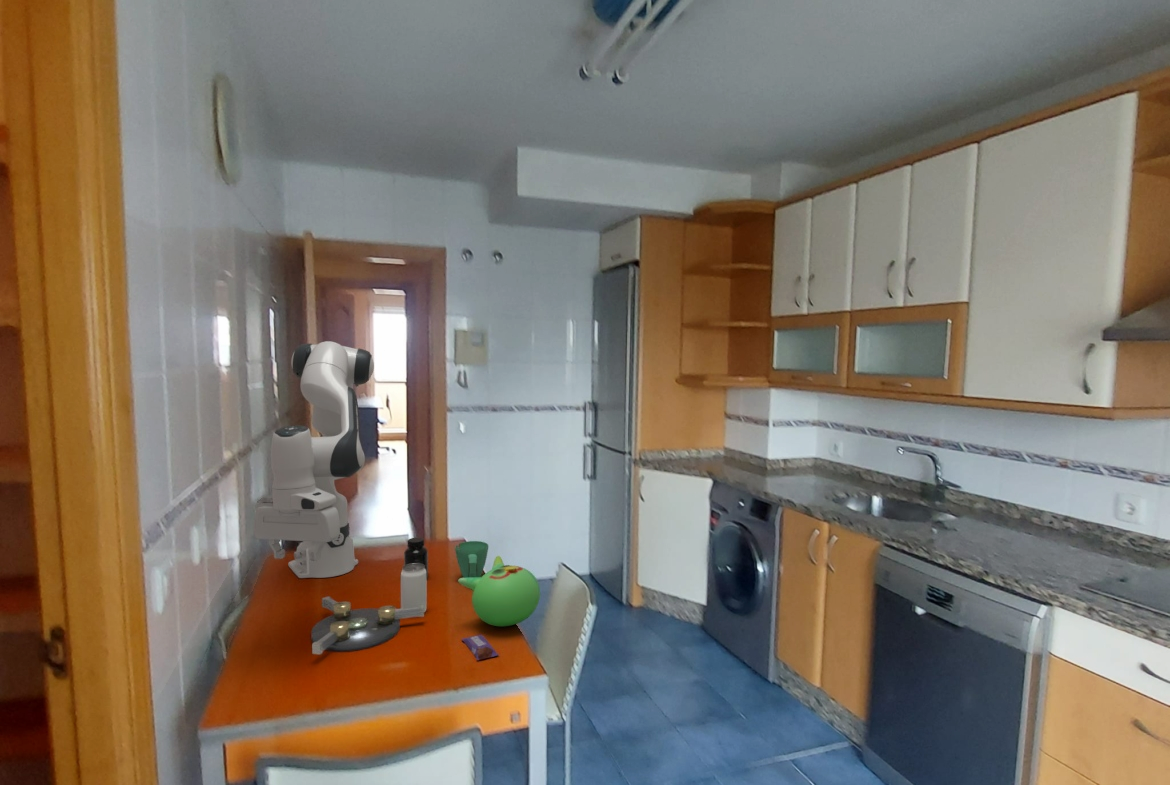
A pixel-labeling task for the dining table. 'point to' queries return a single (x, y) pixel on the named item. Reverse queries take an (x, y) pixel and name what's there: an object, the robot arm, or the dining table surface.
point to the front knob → (332, 636)
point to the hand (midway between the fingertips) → (297, 559)
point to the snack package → (480, 647)
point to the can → (413, 586)
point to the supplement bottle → (416, 553)
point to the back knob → (337, 608)
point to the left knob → (398, 613)
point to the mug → (471, 558)
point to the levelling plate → (358, 631)
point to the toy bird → (504, 594)
